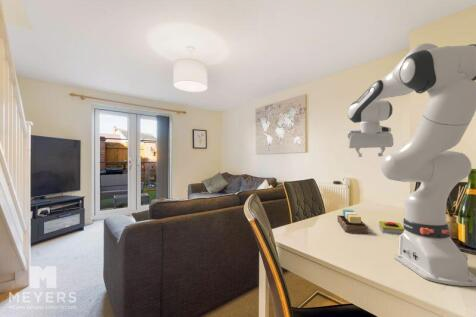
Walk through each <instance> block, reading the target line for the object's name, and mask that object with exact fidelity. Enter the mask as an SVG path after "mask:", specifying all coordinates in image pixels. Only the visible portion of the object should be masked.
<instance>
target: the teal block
mask: <svg viewBox="0 0 476 317" xmlns="http://www.w3.org/2000/svg"><path fill="white" fill-rule="evenodd" d="M345 212H355V211H354V210H353V209H344V208H343V209H342V216H344V217H345Z"/></svg>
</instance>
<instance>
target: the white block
mask: <svg viewBox="0 0 476 317" xmlns="http://www.w3.org/2000/svg"><path fill="white" fill-rule="evenodd" d="M348 215H358V213H357V212H355V211H354V212H345V218H346V219H347V220H348Z"/></svg>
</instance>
